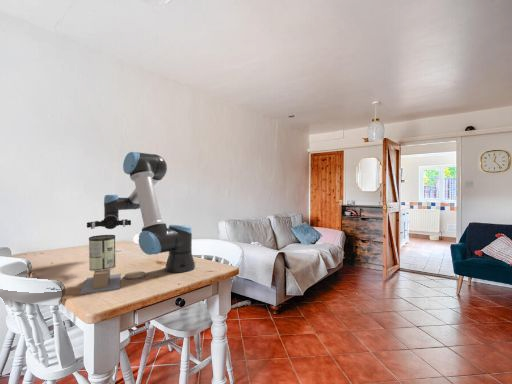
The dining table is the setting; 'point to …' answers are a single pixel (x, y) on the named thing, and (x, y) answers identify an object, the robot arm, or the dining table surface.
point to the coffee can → (101, 252)
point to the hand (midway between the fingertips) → (108, 225)
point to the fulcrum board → (110, 287)
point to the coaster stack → (135, 275)
